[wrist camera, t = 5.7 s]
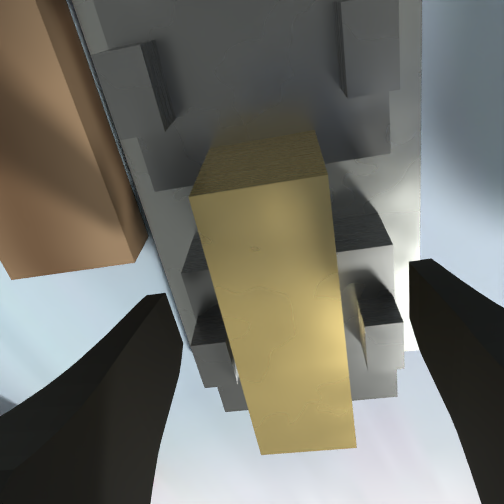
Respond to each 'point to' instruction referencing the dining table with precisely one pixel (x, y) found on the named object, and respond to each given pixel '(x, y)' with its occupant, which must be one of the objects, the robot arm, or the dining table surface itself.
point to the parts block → (57, 152)
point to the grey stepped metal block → (267, 126)
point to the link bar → (279, 288)
